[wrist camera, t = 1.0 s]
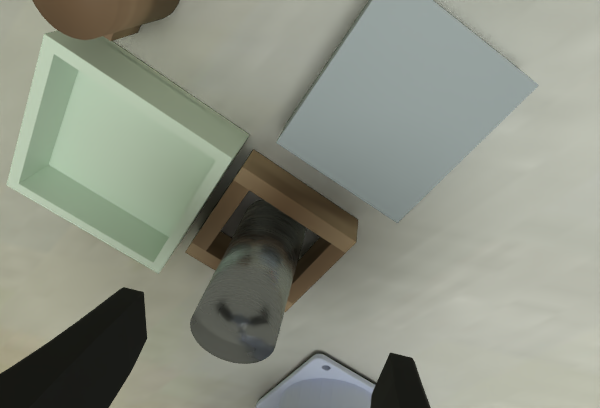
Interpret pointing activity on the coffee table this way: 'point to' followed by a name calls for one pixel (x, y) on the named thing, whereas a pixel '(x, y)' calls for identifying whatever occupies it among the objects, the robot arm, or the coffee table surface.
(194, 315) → the dowel
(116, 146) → the tray
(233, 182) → the socket
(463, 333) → the coffee table surface
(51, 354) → the robot arm
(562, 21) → the coffee table surface
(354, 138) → the pale blue block
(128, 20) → the brown block with knobs
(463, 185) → the coffee table surface
